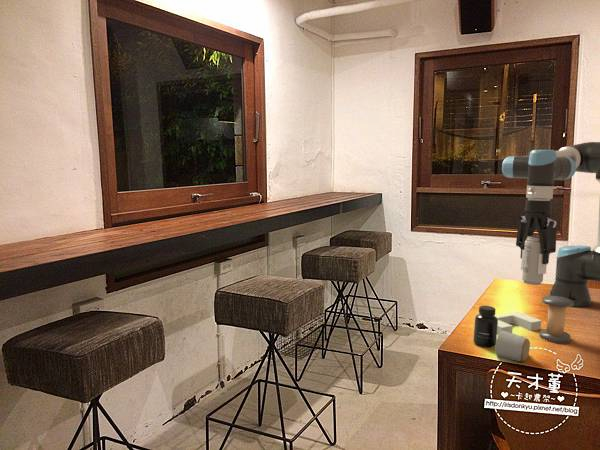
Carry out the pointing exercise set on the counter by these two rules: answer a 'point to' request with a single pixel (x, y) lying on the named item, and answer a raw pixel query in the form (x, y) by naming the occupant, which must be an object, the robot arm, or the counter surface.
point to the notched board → (517, 322)
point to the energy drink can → (531, 261)
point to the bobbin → (556, 319)
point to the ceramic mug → (512, 346)
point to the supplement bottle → (485, 327)
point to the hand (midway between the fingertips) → (533, 271)
